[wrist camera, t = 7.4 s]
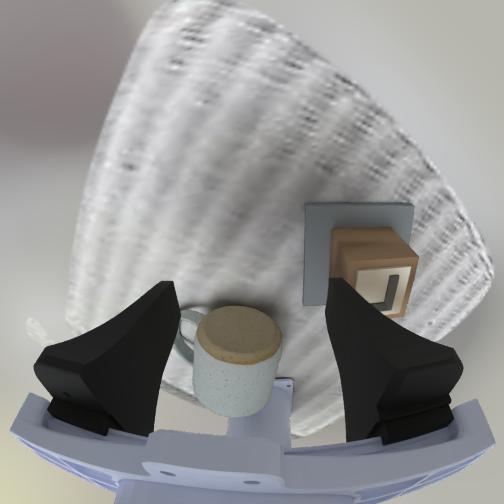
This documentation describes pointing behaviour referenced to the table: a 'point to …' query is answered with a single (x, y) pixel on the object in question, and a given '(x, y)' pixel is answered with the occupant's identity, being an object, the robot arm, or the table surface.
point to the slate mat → (338, 217)
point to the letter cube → (375, 266)
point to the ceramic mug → (232, 358)
